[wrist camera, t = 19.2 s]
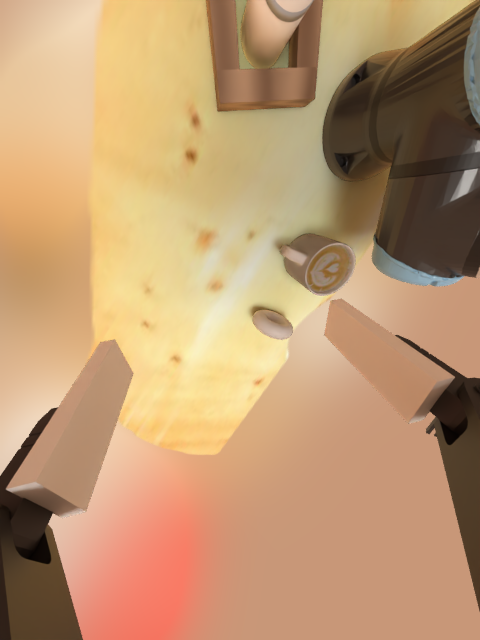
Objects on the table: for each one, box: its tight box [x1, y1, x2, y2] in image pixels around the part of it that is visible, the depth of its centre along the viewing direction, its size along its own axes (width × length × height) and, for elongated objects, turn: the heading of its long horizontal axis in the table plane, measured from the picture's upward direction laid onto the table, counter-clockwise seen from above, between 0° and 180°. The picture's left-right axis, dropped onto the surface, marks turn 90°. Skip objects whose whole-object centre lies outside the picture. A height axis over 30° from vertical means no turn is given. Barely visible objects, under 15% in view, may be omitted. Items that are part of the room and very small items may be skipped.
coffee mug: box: [280, 234, 356, 296], centre depth 40 cm, size 13×10×10 cm
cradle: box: [206, 0, 323, 111], centre depth 25 cm, size 14×14×3 cm
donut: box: [252, 310, 293, 340], centre depth 46 cm, size 10×4×10 cm, turn 69°
